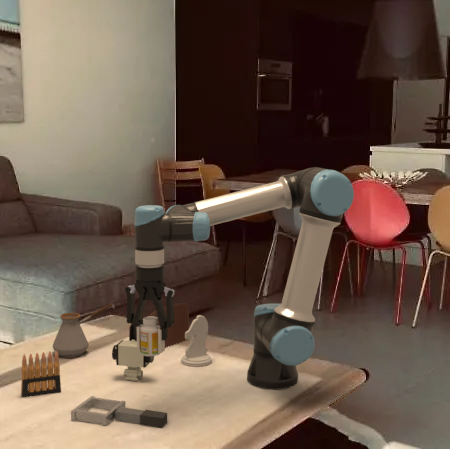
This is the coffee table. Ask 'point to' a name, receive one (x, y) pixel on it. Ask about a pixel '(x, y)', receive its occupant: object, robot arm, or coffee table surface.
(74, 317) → the coffee pot
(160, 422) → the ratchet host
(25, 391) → the ammunition clip
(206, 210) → the robot arm
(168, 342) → the letter holder
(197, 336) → the chess piece
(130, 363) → the pneumatic valve
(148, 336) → the supplement bottle
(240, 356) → the coffee table surface
